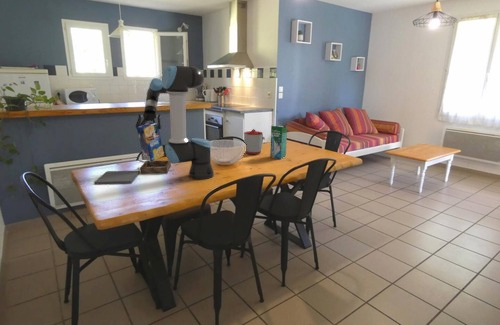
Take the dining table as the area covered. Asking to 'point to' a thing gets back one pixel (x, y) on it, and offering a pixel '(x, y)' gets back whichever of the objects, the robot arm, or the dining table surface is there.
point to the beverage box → (150, 142)
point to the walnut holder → (155, 167)
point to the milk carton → (278, 141)
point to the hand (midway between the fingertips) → (146, 137)
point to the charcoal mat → (117, 177)
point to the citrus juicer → (253, 141)
